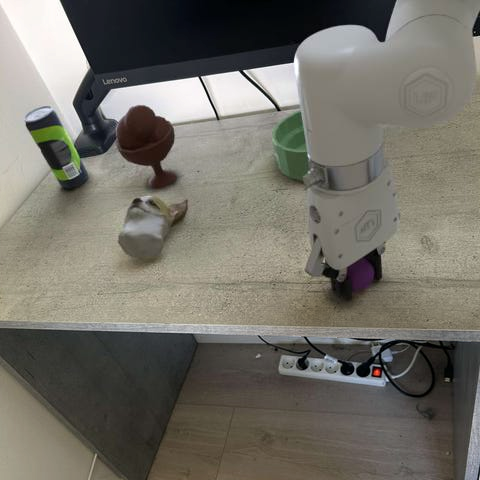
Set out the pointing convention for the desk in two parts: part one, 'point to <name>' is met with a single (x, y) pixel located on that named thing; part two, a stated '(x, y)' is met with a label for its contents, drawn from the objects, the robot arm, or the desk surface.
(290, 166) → the green bowl
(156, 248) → the ceramic sculpture
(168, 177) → the ice cream bowl
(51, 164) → the beverage can
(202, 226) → the desk surface
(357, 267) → the ball
